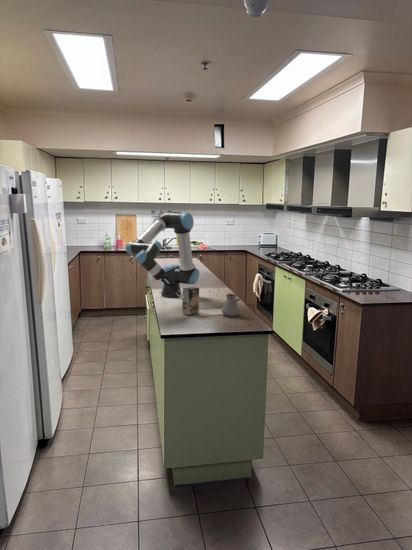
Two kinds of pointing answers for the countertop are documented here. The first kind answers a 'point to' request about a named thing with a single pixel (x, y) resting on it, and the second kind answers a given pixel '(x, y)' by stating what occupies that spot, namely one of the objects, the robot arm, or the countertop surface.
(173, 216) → the robot arm
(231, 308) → the coffee pot
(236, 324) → the countertop surface
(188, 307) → the coffee box
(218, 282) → the countertop surface
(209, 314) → the mat
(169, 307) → the countertop surface
